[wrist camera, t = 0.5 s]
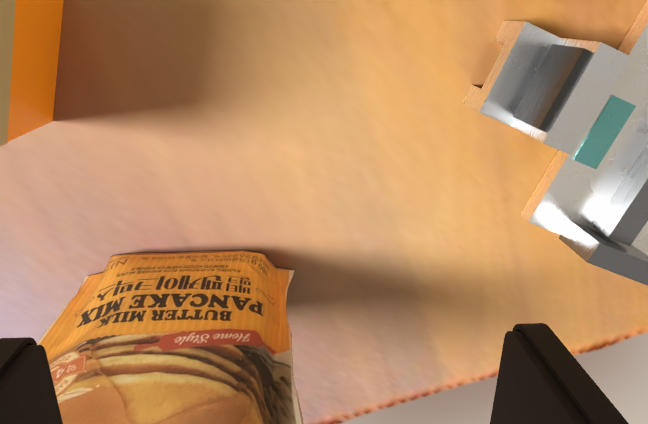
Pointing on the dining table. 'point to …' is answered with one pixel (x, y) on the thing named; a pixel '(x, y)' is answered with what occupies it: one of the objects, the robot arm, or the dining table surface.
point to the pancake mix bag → (176, 342)
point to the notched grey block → (547, 84)
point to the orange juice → (28, 64)
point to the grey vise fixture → (605, 175)
